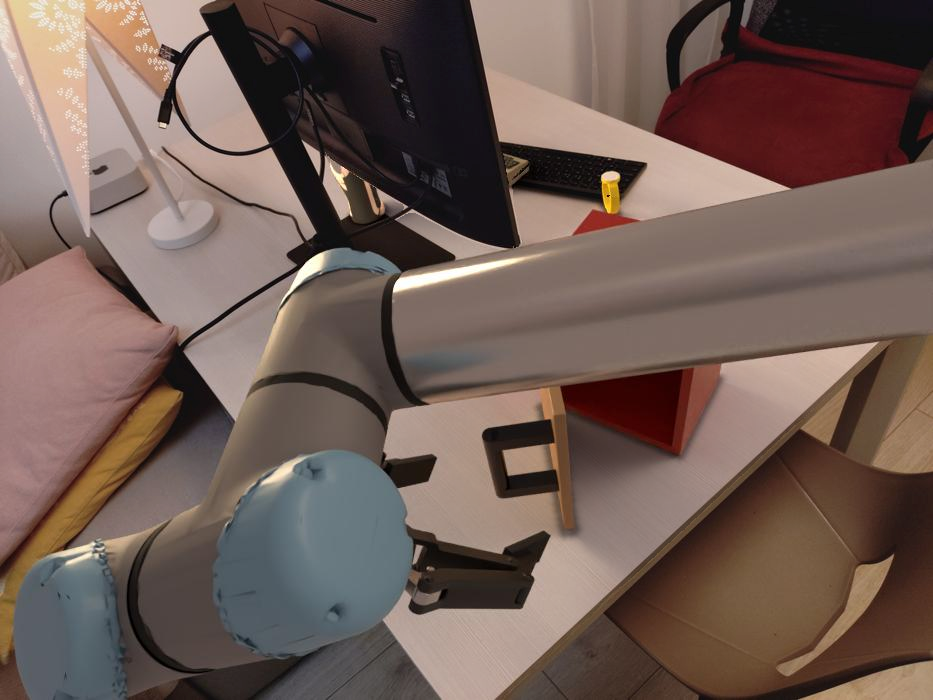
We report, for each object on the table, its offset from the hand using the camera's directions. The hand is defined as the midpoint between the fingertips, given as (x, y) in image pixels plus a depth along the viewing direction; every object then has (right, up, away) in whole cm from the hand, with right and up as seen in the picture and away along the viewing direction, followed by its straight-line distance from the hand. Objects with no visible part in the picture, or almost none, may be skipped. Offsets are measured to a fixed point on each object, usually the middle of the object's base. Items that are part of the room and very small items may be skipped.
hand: (482, 504), depth 58 cm
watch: (+21, +37, +41) cm, 59 cm away
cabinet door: (+5, +1, +12) cm, 13 cm away
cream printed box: (+1, +46, +55) cm, 72 cm away
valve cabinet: (+18, +10, +16) cm, 27 cm away
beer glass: (-19, +38, +51) cm, 66 cm away
